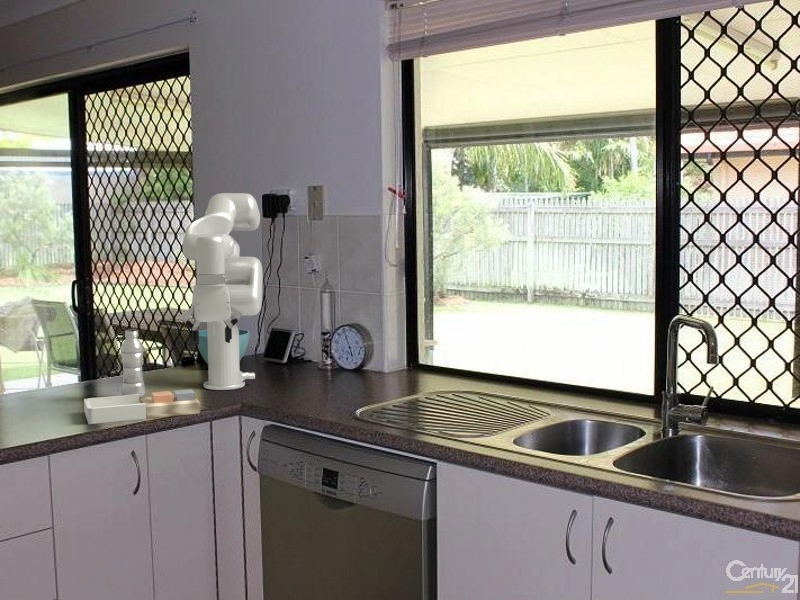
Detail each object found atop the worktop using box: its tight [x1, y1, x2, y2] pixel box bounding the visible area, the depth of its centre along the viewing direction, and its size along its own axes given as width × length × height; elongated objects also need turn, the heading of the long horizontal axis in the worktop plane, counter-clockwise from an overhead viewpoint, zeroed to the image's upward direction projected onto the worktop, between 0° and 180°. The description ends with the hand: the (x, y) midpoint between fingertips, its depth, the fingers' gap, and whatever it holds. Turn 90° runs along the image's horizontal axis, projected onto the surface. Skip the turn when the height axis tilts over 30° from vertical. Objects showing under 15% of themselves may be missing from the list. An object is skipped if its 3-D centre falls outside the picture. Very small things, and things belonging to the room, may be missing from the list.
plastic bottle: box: [119, 329, 146, 398], centre depth 255 cm, size 6×7×20 cm
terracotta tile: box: [150, 390, 174, 403], centre depth 239 cm, size 5×5×2 cm
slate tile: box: [173, 388, 196, 401], centre depth 242 cm, size 5×5×2 cm
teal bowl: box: [197, 328, 250, 365], centre depth 304 cm, size 18×18×12 cm
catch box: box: [83, 394, 147, 425], centre depth 235 cm, size 14×13×4 cm
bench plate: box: [139, 394, 201, 419], centre depth 241 cm, size 14×12×3 cm
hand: (212, 342), depth 244 cm, fingers open, 8 cm apart
